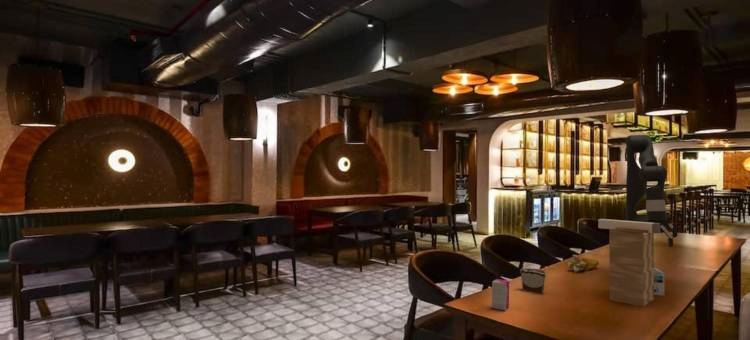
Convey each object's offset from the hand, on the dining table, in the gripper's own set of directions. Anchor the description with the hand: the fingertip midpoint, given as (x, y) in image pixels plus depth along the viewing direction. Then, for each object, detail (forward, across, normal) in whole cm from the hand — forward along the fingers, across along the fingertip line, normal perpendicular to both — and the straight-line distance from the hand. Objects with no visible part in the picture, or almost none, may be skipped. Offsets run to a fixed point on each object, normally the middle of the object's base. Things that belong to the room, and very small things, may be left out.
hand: (659, 246), depth 193 cm
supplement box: (+22, +67, +38) cm, 80 cm away
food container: (+21, +53, +5) cm, 57 cm away
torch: (+18, +26, -50) cm, 59 cm away
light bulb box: (+22, +2, -11) cm, 25 cm away
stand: (+23, +13, +5) cm, 27 cm away
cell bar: (-8, +12, +3) cm, 15 cm away
